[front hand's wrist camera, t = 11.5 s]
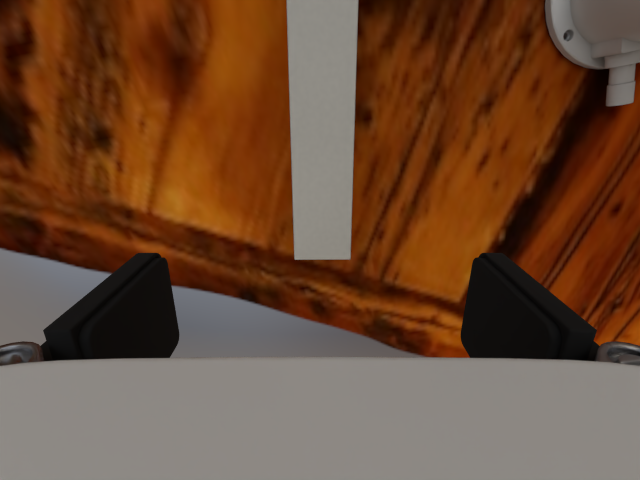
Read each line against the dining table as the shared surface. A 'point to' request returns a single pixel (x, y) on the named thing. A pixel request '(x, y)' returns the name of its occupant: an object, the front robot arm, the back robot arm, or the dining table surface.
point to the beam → (322, 124)
